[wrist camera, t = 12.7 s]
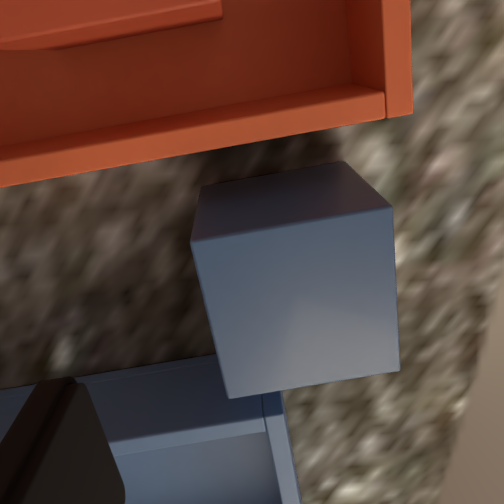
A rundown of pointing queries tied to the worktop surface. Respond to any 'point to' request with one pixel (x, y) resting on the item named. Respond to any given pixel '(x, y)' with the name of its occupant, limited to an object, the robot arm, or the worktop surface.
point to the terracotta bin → (204, 86)
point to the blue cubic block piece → (297, 278)
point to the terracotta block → (94, 20)
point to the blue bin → (187, 435)
